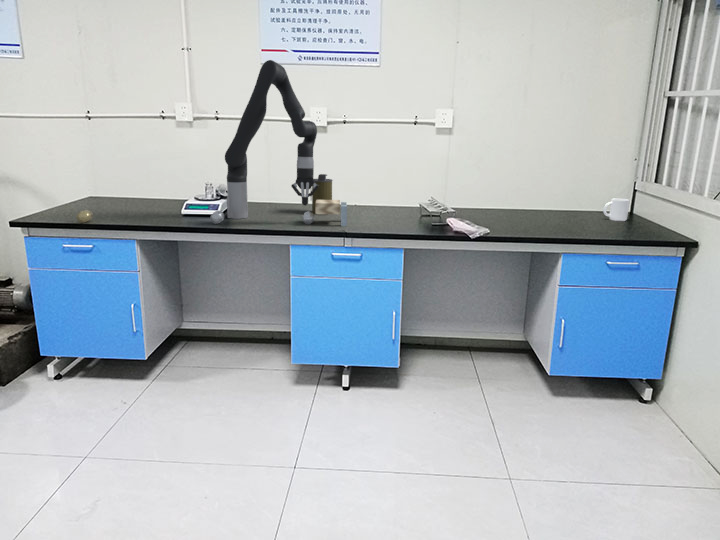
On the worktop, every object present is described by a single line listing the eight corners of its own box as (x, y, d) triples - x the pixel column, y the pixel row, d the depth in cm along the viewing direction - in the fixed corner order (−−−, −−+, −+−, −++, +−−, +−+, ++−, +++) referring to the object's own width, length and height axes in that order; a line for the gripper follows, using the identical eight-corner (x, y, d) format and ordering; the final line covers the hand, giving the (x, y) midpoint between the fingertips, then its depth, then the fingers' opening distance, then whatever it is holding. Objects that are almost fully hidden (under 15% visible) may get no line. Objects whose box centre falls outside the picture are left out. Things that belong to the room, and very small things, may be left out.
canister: (333, 212, 288) (333, 173, 282) (330, 216, 278) (330, 175, 272) (313, 212, 289) (312, 173, 283) (309, 215, 279) (308, 175, 273)
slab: (315, 214, 251) (315, 203, 249) (316, 210, 262) (316, 199, 261) (339, 214, 251) (340, 203, 250) (339, 210, 263) (339, 199, 262)
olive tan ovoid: (76, 211, 249) (87, 212, 249) (82, 209, 254) (93, 210, 255) (76, 221, 250) (87, 223, 250) (82, 219, 256) (92, 221, 256)
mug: (605, 220, 277) (607, 200, 274) (598, 218, 285) (601, 198, 282) (629, 221, 277) (632, 200, 274) (622, 218, 285) (625, 198, 282)
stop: (341, 225, 252) (341, 206, 249) (340, 220, 265) (341, 201, 263) (346, 226, 252) (347, 206, 249) (346, 220, 265) (346, 201, 263)
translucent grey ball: (211, 211, 251) (223, 214, 252) (214, 209, 257) (225, 212, 258) (209, 221, 252) (220, 225, 253) (212, 219, 258) (222, 222, 259)
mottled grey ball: (316, 219, 254) (307, 226, 255) (316, 217, 260) (308, 224, 261) (308, 211, 253) (300, 218, 254) (309, 209, 259) (301, 216, 260)
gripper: (320, 166, 255) (319, 204, 259) (291, 165, 254) (291, 203, 259) (319, 168, 248) (319, 206, 252) (289, 167, 247) (289, 206, 251)
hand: (304, 205), depth 255 cm, fingers closed
